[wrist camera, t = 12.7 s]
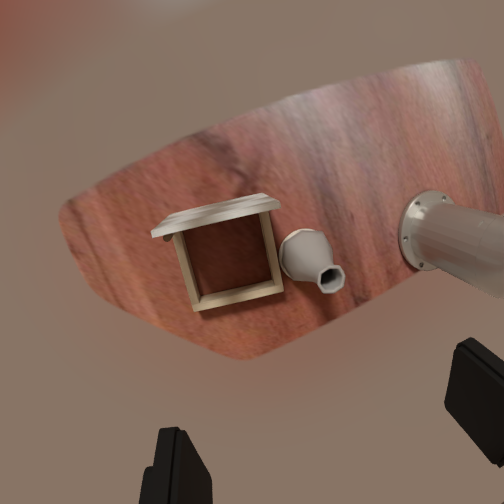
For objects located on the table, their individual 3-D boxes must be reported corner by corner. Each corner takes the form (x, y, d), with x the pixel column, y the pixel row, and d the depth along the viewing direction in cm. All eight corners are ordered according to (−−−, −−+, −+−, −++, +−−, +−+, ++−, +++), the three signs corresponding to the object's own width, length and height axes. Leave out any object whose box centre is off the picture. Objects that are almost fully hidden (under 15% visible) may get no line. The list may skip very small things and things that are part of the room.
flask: (336, 272, 43) (366, 299, 33) (287, 287, 43) (306, 319, 33) (326, 222, 41) (357, 238, 31) (274, 237, 41) (291, 257, 31)
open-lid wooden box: (262, 192, 40) (279, 201, 28) (280, 284, 43) (301, 324, 32) (170, 214, 39) (150, 231, 28) (195, 304, 43) (188, 350, 31)
